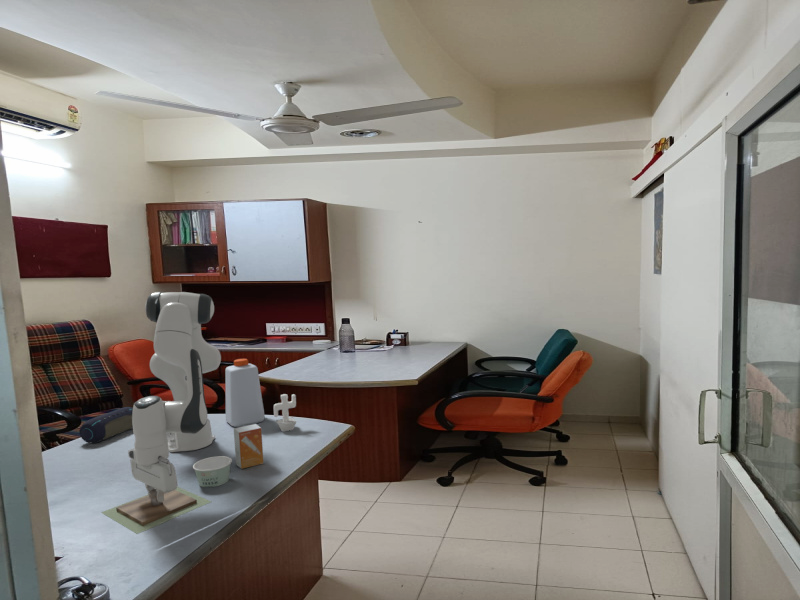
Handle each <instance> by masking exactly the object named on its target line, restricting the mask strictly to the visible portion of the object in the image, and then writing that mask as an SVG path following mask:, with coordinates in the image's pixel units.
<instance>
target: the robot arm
mask: <svg viewBox="0 0 800 600" xmlns="http://www.w3.org/2000/svg"><path fill="white" fill-rule="evenodd" d="M144 310H145V314H146V317H147V319H148V320H149V321H150V322H154V323H156V324H155V330H154V335H153V336H154V337H153V350H154V354H153V355H152V356H151V358H150V360H149V370H150V372H151V374H153V375H154V377H155V378H158V379H159V380H161V381H163V382H164V383H165V385H167V386H168V388H169V389H170V391H171V394H172V398H173V400H172V401H171V400H163V399H162V398H161V397H160V396H157V395H149V396H145V397H142V398H140V399H138V400H137V401H135V402H133V407H132V408H133V413H132V425H133V428H132V433H133V435H134V446H133V447H134V448H132V449H129V450H128V452H127V453H128V458H130V469H131V473H132V477H133V478H134V479H135V480H137V481H139V482H141V483H142V484H144V486H145V489H146V491H147V495H148V497H149V498H150V491H151V490H152V489H156V491H157V495H156V496H155V497H156V501H157V502H162V501H164V493H168V492H171V491H173V490H176V489H177V487H179V486H178V479H177V472H176V468H175V466H174V464H173V463H171V462H170V459H169V457H170V453H177V452H188V451H189V452H190V451H195V450H199V449H203V448H206V447H208V446H210V445H211V444H212V443H213V441H214V440H215V439H216V436H215V435H213V431H212V425H211V424H212V423H211V420H210V419H209V417H208V409H207V405H206V403H207V402H206V399H205V387H204V376H203V374H206V373H209V372H210V373H211V372H212V371H216V370H217V369H218V368H219V366H220V364H221V361H222V355H221V352H220V350H219V349H218V348H217V347H216V346H215V345H212V344H210V343H209V342H207V341H206V340H205V339H204V337H203V335H202V324H207V323H209V322H210V321H211V320H212V317H213V316H214V313H215V305H214V301H213V298H212V297H211V296H210V295H207V294H205V293H194V292H186V291H181V292H178V291H177V292H176V291H174V292H173V291H170V292H169V291H168V292H167V291H166V292H162V291H156V292H155V291H154V292H152V293H150V294H149V295H148V296H147V299H146V301H145V304H144Z"/></svg>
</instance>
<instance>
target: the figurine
mask: <svg viewBox="0 0 800 600" xmlns="http://www.w3.org/2000/svg"><path fill="white" fill-rule="evenodd" d="M288 399H289V396H288V394H286V393H283V394H280V400H281V402H278V403H275V404H273V416H274V417H275V418H277V417H278V416H279V411H282V412H281V413H282V414H281V415H282V418H281V419H276V420H275V422H276V424H277V425H278V427H279V429H280V430H281V432H283V433H284V432H290V431H293V430H294V428H295V427H296V424H297V420H296V419H295V418H294V417H289V416H290V415H289V414H290V413H289V409H293V408H296V407H297V395H296V394H294V393H293V394H291V401H289V400H288ZM289 430H290V431H289Z"/></svg>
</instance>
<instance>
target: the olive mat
mask: <svg viewBox="0 0 800 600" xmlns="http://www.w3.org/2000/svg"><path fill="white" fill-rule="evenodd" d="M176 491H178V492H180V493H183V494H185V495H187V496H189V497H192V498H194V499H196V500H197V503H196V504H193V505H191V506H189V507H186V508H184V509H182V510H179V511H177V512H175V513H172V514H170V515H167V516H165V517H163V518H160V519H158V520H156V521H153V522H151V523H149V524H146V525H144V526H142V525H140V524H139V523H137V522H135V521H133V520H132V519H130V518H128V517H126V516H125V515H123V514H121V513H119V512H118V511H117V510H116V507H119V506H122V505H124V504H127V503H129V502H132V501H135V500H137V499H140V498H143V497H145V496H148V494H146V495H143V496H141V497H137V498H136V499H135V498H134V499H133V500H130V501H128V502H125V503H122V504H119V505H117V506H114V507H112V508H110V509H106V510H104V511H102V512H101V513H102V514H103V515H105V516H106V517H108V518H109V519H112V520H113V521H114V522H116V523H118V524H120V525H121V526H122V527H124V528H126V529H127V530H130V531H131V532H133V533H134V534H136V535H139V534H140V533H143V532H144V531H147V530H149V529H150V530H151V529H152V528H154V527H157V526H160V525H161V524H163V523H167V522H169V521H170V520H172V519H175V518H177V517H181V516H182V515H185V514H187V513H189V512H191V511H193V510H196V509H198V508H200V507H203V506H205V505H207V504H208V505H209V504H210V503H212V501H211V500H209V499H207V498H204V497H202V496H200V495H198V494H195V493H193V492H192V491H188V490H186V489H184V488H181V487H179V486H177V489H176Z"/></svg>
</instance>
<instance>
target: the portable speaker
mask: <svg viewBox="0 0 800 600" xmlns="http://www.w3.org/2000/svg"><path fill="white" fill-rule="evenodd" d="M132 413H133V407H130V406H125V407H122V408H118V409H115V410H112V411H110V412H107V413H104V414H101V415H98V416H96V417H93V418H90V419H88V420H87V421H85V422H84V423H83V424H82V425H81V426H80V428H79V431H78V432H79V435H80V438H81V440H82V441H84V442H86V443H89V444H95V443H99V442H102V441H104V440H106V439H109V438H111V437H114V436H116V435H118V434H121V433H123V432H126V431H128V430H129V431H130V430H131V429H133V425H132Z"/></svg>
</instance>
